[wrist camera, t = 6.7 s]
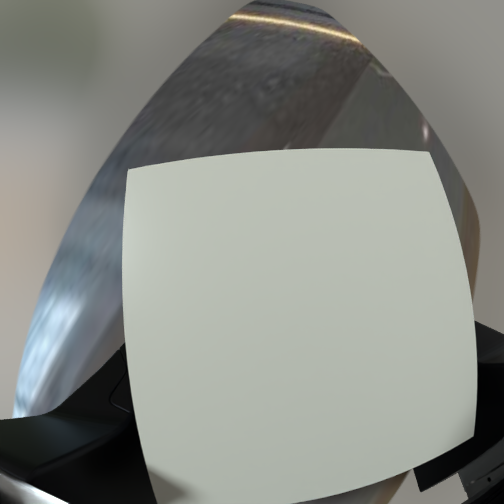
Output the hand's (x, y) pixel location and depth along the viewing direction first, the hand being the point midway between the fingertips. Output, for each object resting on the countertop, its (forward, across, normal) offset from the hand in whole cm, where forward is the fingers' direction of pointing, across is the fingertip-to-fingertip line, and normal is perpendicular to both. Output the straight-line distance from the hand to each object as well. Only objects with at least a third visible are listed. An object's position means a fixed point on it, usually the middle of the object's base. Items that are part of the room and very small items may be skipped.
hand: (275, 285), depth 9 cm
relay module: (+4, 0, +6) cm, 7 cm away
